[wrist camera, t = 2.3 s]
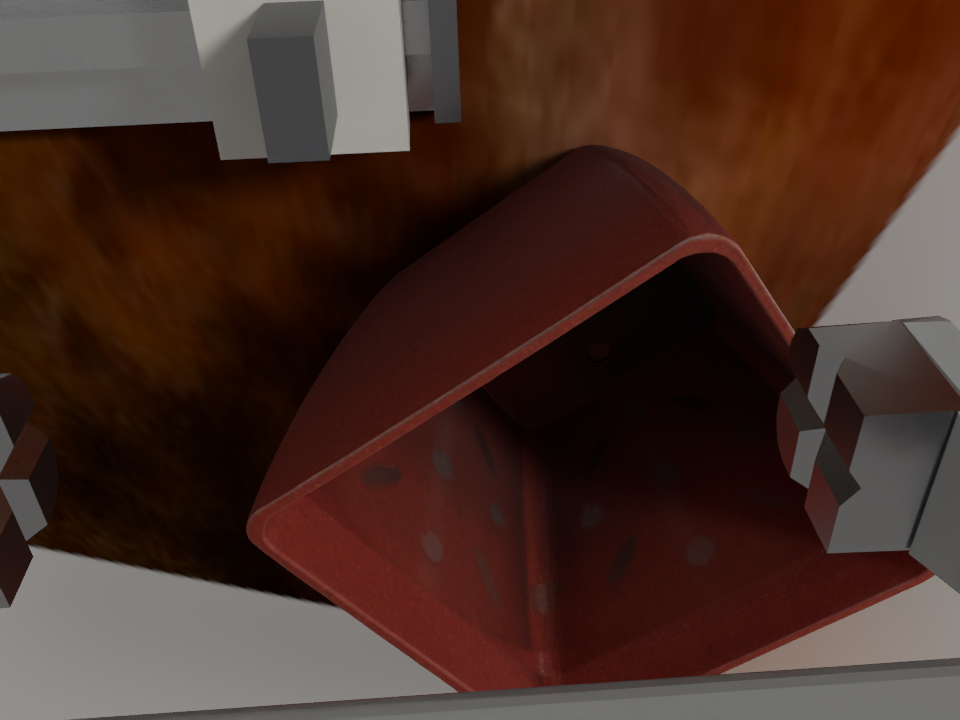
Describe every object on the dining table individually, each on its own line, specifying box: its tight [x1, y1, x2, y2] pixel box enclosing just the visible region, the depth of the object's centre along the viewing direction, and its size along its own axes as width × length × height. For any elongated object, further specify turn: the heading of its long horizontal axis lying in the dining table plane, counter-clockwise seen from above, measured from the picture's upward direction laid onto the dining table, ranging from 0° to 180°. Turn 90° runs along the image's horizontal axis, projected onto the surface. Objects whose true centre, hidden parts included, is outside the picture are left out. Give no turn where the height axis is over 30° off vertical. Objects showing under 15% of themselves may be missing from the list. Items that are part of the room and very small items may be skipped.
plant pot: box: [246, 145, 935, 692], centre depth 40 cm, size 19×19×17 cm
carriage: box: [188, 0, 410, 163], centre depth 32 cm, size 7×7×9 cm
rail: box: [0, 0, 461, 131], centre depth 35 cm, size 8×25×6 cm, turn 92°
